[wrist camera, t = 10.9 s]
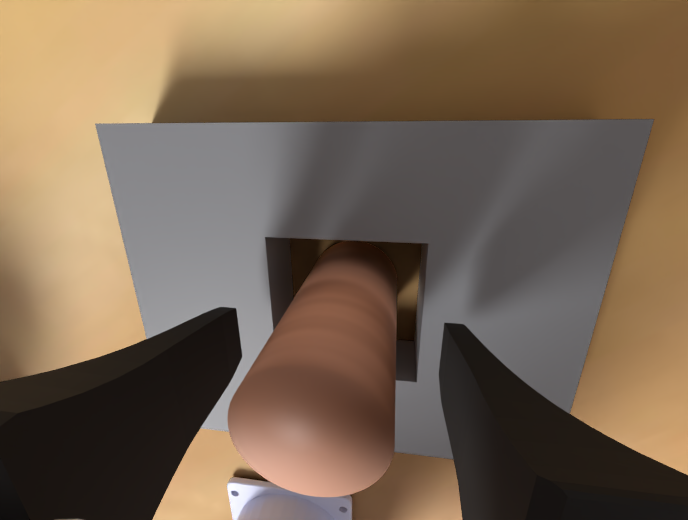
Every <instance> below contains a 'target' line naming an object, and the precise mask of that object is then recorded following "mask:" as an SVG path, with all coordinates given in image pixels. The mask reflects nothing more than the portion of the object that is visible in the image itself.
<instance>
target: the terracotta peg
mask: <svg viewBox="0 0 688 520" xmlns="http://www.w3.org/2000/svg"><path fill="white" fill-rule="evenodd" d="M396 329H397V275H396V271H395V268H394V266H393V263H392V262H391V260H390V259H389V258H388V256H387V255H386V254H385V253H384V252H383V251H381V250H380V249H379V248H377V247H375V246H373V245H371V244H369V243H366V242H361V241H345V242H341V243H337V244H335V245H333V246H331V247H330V248H328V249H327V250H326V251H324V253H323V254H322V255H321V256H320V257H319V259H318V260H317V262H316V264H315V265H314V267H313V268H312V270H311V272H310V273H309V275H308V276H307V278H306V280H305V281H304V283H303V284H302V286H301V288H300V289H299V291H298V292H297V294H296V296H295V297H294V299H293V301H292V302H291V304H290V305H289V307H288V309H287V310H286V312H285V313H284V315H283V317H282V318H281V320H280V321H279V323H278V325H277V326H276V328H275V329H274V331H273V333H272V334H271V336H270V337H269V339H268V341H267V342H266V344H265V345H264V347H263V349H262V350H261V352H260V354H259V355H258V357H257V358H256V360H255V362H254V363H253V365H252V366H251V368H250V370H249V371H248V373H247V374H246V376H245V378H244V379H243V381H242V382H241V384H240V386H239V387H238V389H237V390H236V392H235V394H234V395H233V398H232V400H231V402H230V405H229V409H228V417H227V420H228V429H229V433H230V436H231V439H232V442H233V444H234V446H235V447H236V449H237V451H238V452H239V454H240V455H241V457H242V458H243V459H244V460H245V461H246V463H247V464H248V465H249V466H250V467H251V468H252V469H254V470H255V471H256V472H257V473H258V474H260V475H261V476H262V477H264V478H265V479H267V480H268V481H270V482H272V483H274V484H276V485H278V486H280V487H282V488H284V489H287V490H289V491H292V492H296V493H299V494H303V495H308V496H315V497H339V496H345V495H350V494H353V493H356V492H359V491H362V490H364V489H366V488H368V487H369V486H371V485H372V484H374V483H375V482H376V481H378V480H379V479H380V478H381V477H382V476H383V475H384V473H385V472H386V471H387V469H388V467H389V466H390V464H391V461H392V458H393V455H394V448H395V394H396Z"/></svg>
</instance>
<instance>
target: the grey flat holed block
mask: <svg viewBox="0 0 688 520" xmlns="http://www.w3.org/2000/svg"><path fill="white" fill-rule="evenodd" d="M653 121H654V119H609V120H488V121H367V122H246V123H126V124H95V125H96V129H97V133H98V137H99V141H100V146H101V150H102V154H103V158H104V162H105V167H106V171H107V175H108V179H109V183H110V187H111V192H112V196H113V200H114V204H115V208H116V212H117V217H118V221H119V225H120V229H121V233H122V238H123V242H124V246H125V250H126V254H127V258H128V263H129V267H130V271H131V275H132V279H133V283H134V288H135V292H136V296H137V300H138V304H139V308H140V313H141V317H142V321H143V325H144V329H145V334H146V338H147V339H148V338H151V337H153V336H155V335H157V334H160V333H162V332H164V331H167V330H169V329H171V328H173V327H175V326H177V325H180V324H182V323H184V322H186V321H188V320H190V319H192V318H194V317H197V316H199V315H201V314H203V313H205V312H208V311H210V310H213V309H215V308H218V307H229V308H236V310H237V318H238V326H239V333H240V341H241V349H242V359H241V361H240V363H239V365H238V368H237V370H236V372H235V374H234V376H233V378H232V380H231V382H230V383H229V385H228V387H227V388H226V390H225V391H224V393H223V394H222V396H221V397H220V399H219V401H218V402H217V404H216V405H215V407H214V408H213V410H212V411H211V413H210V414H209V416H208V417H207V419H206V420H205V422H204V423H203V425H202V426H201V428H203V429H211V430H219V431H227V432H229V429H228V420H227V417H228V409H229V405H230V402H231V400H232V398H233V395H234V394H235V392H236V390H237V389H238V387H239V386H240V384H241V382H242V381H243V379H244V378H245V376H246V374H247V373H248V371H249V370H250V368H251V366H252V365H253V363H254V362H255V360H256V358H257V357H258V355H259V354H260V352H261V350H262V349H263V347H264V345H265V344H266V342H267V341H268V339H269V337H270V336H271V334H272V333H273V331H274V329H275V328H276V326H277V325H278V323H279V321H280V320H281V318H282V317H283V315H284V313H285V312H286V310H287V309H288V307H289V305H290V304H291V302H292V301H293V299H294V297H293V281H292V265H291V249H290V238H301V239H326V240H351V241H376V242H402V243H422V245H421V258H420V271H419V284H418V297H417V310H416V323H415V336H414V341H406V340H396V394H395V448H394V452H398V453H406V454H414V455H422V456H430V457H438V458H447V459H453V454H452V450H451V445H450V441H449V436H448V432H447V427H446V423H445V418H444V413H443V409H442V404H441V396H440V385H439V366H440V357H441V348H442V339H443V330H444V323H457V324H464V325H465V326H466V327H467V328H468V329H469V330H470V331H471V332H472V333H473V334H474V335H475V336H476V337H477V338H478V339H479V340H480V341H481V343H482V344H483V345H484V346H485V347H486V348H487V349H488V350H489V351H490V352H491V353H492V354H493V355H494V356H496V357H497V358H498V359H499V360H500V361H501V362H502V363H503V364H504V365H505V366H506V367H507V368H509V369H510V370H511V371H512V372H513V373H514V374H516V375H517V376H518V377H519V378H520V379H521V380H523V381H524V382H525V383H526V384H528V385H529V386H530V387H532V388H533V389H534V390H536V391H537V392H538V393H540V394H541V395H542V396H544V397H545V398H547V399H548V400H549V401H551V402H552V403H554V404H555V405H557V406H558V407H560V408H561V409H563V410H564V411H566V412H567V413H569V414H570V411H571V408H572V404H573V401H574V397H575V394H576V390H577V387H578V383H579V380H580V376H581V373H582V369H583V366H584V362H585V359H586V355H587V352H588V348H589V345H590V341H591V338H592V334H593V331H594V327H595V324H596V320H597V317H598V313H599V310H600V306H601V303H602V299H603V296H604V292H605V289H606V285H607V282H608V278H609V275H610V271H611V268H612V264H613V261H614V257H615V254H616V250H617V247H618V243H619V240H620V236H621V233H622V230H623V226H624V223H625V219H626V216H627V212H628V209H629V205H630V202H631V198H632V195H633V191H634V188H635V184H636V181H637V177H638V174H639V170H640V167H641V163H642V160H643V156H644V153H645V149H646V146H647V142H648V139H649V135H650V132H651V128H652V125H653Z"/></svg>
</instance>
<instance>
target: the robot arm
mask: <svg viewBox="0 0 688 520" xmlns="http://www.w3.org/2000/svg"><path fill="white" fill-rule="evenodd" d="M241 359H242V349H241V341H240V333H239V326H238V318H237V310H236V308H229V307H218V308H215V309H213V310H210V311H208V312H205V313H203V314H201V315H199V316H197V317H194V318H192V319H190V320H188V321H186V322H184V323H182V324H180V325H177V326H175V327H173V328H171V329H169V330H167V331H164V332H162V333H160V334H157V335H155V336H153V337H151V338H148V339H146V340H144V341H141V342H139V343H137V344H134V345H132V346H129V347H126V348H124V349H121V350H118V351H115V352H112V353H110V354H107V355H104V356H101V357H98V358H95V359H91V360H88V361H84V362H81V363H77V364H74V365H71V366H67V367H64V368H60V369H56V370H52V371H48V372H44V373H40V374H36V375H31V376H26V377H22V378H17V379H12V380H7V381H2V382H0V520H152V519H153V517H154V515H155V512H156V510H157V508H158V506H159V504H160V502H161V500H162V498H163V496H164V494H165V492H166V490H167V488H168V486H169V484H170V481H171V479H172V477H173V476H174V474H175V472H176V470H177V468H178V466H179V464H180V462H181V460H182V458H183V456H184V454H185V453H186V451H187V449H188V447H189V445H190V444H191V442H192V440H193V439H194V437H195V435H196V434H197V432H198V431H199V429H200V428H201V426H202V425H203V423H204V422H205V420H206V419H207V417H208V416H209V414H210V413H211V411H212V410H213V408H214V407H215V405H216V404H217V402H218V401H219V399H220V397H221V396H222V394H223V393H224V391H225V390H226V388H227V387H228V385H229V383H230V382H231V380H232V378H233V376H234V374H235V372H236V370H237V368H238V365H239V363H240V361H241ZM439 385H440V396H441V404H442V409H443V413H444V418H445V423H446V427H447V432H448V436H449V441H450V445H451V450H452V454H453V459H454V463H455V468H456V473H457V479H458V485H459V493H460V501H461V510H462V518H463V520H688V475H686V474H684V473H682V472H679V471H677V470H675V469H673V468H671V467H669V466H666V465H664V464H662V463H660V462H658V461H655V460H653V459H651V458H649V457H647V456H645V455H642V454H640V453H638V452H636V451H634V450H633V449H631V448H629V447H627V446H625V445H623V444H621V443H619V442H617V441H615V440H614V439H612V438H610V437H608V436H606V435H604V434H602V433H601V432H599V431H597V430H595V429H594V428H592V427H590V426H588V425H587V424H585V423H583V422H582V421H580V420H579V419H577V418H575V417H574V416H572V415H571V414H569V413H567V412H566V411H564V410H563V409H561V408H560V407H558V406H557V405H555V404H554V403H552V402H551V401H549V400H548V399H547V398H545V397H544V396H542V395H541V394H540V393H538V392H537V391H536V390H534V389H533V388H532V387H530V386H529V385H528V384H526V383H525V382H524V381H523V380H521V379H520V378H519V377H518V376H517V375H516V374H514V373H513V372H512V371H511V370H510V369H509V368H507V367H506V366H505V365H504V364H503V363H502V362H501V361H500V360H499V359H498V358H497V357H496V356H494V355H493V354H492V353H491V352H490V351H489V350H488V349H487V348H486V347H485V346H484V345H483V344H482V343H481V341H480V340H479V339H478V338H477V337H476V336H475V335H474V334H473V333H472V332H471V331H470V330H469V329H468V328H467V327H466V326H465V325H464V324H457V323H444V330H443V339H442V348H441V357H440V366H439ZM227 489H228V495H229V501H230V506H231V512H232V518H233V520H352V497H351V496H350V495H345V496H339V497H315V496H308V495H303V494H299V493H296V492H292V491H289V490H287V489H284V488H282V487H280V486H278V485H276V484H274V483H272V482H267V481H260V480H252V479H245V478H238V477H232V478H230V480H229V481H228V484H227Z"/></svg>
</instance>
